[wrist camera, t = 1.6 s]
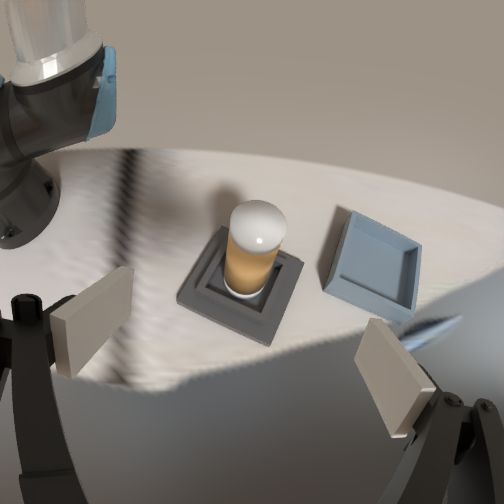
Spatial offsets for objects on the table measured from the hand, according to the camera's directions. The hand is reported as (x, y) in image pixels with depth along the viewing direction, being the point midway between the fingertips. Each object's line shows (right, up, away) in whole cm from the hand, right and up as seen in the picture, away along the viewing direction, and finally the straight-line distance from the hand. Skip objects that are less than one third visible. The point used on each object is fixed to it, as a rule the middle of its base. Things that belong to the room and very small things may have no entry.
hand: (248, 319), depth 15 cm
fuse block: (-1, -1, +22) cm, 22 cm away
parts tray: (+18, +1, +26) cm, 31 cm away
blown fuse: (-1, 0, +21) cm, 21 cm away
